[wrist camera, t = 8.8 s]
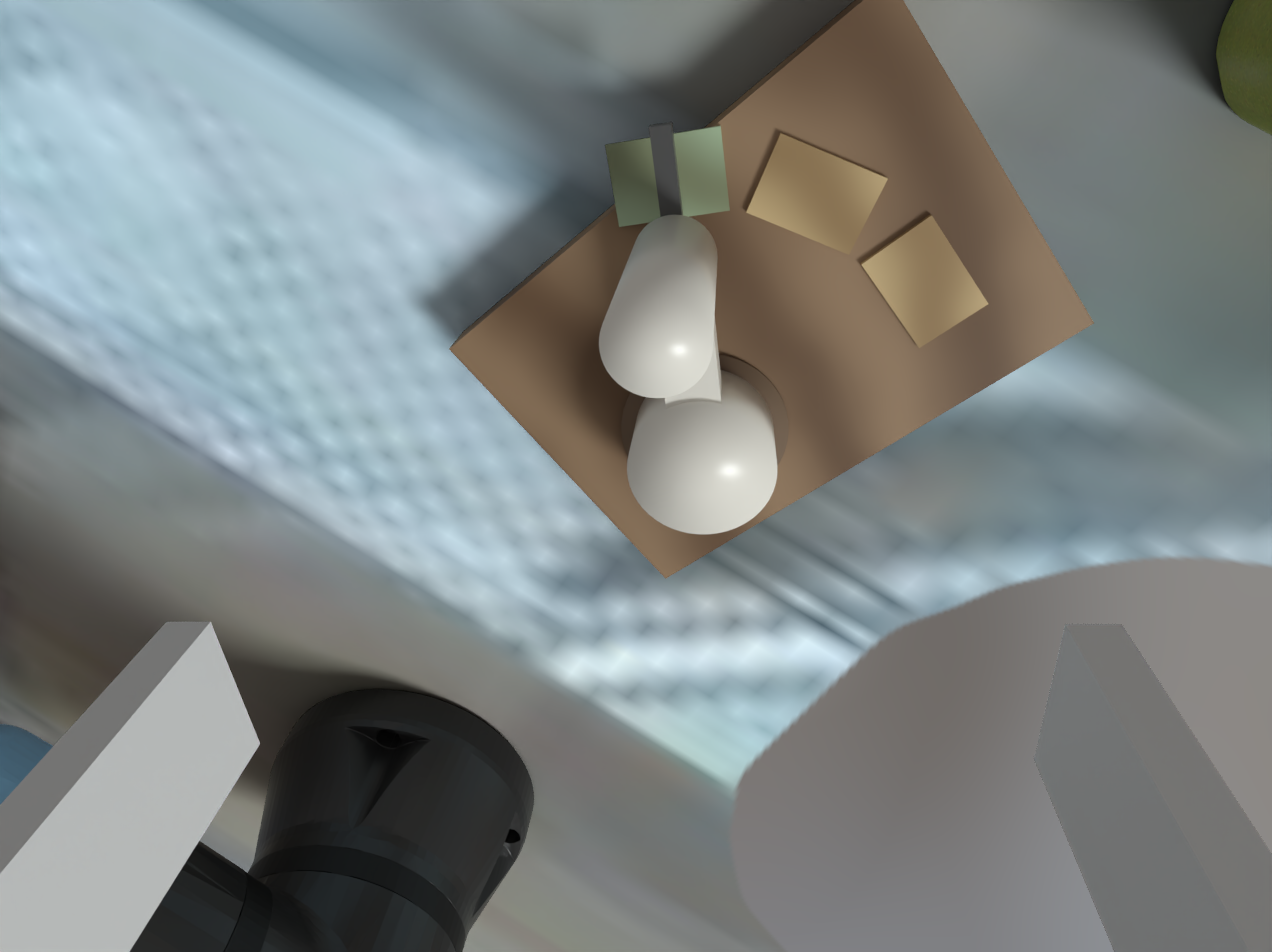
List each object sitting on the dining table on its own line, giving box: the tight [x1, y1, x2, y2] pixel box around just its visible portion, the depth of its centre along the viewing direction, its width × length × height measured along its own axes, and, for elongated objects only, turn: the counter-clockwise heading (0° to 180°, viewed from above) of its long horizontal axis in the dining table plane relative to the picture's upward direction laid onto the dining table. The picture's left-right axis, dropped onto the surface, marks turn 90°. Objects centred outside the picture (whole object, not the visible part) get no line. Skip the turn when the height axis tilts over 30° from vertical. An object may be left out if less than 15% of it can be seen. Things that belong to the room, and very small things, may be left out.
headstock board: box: [450, 0, 1094, 578], centre depth 32 cm, size 20×16×2 cm
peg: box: [599, 122, 777, 534], centre depth 27 cm, size 15×6×11 cm, turn 9°
